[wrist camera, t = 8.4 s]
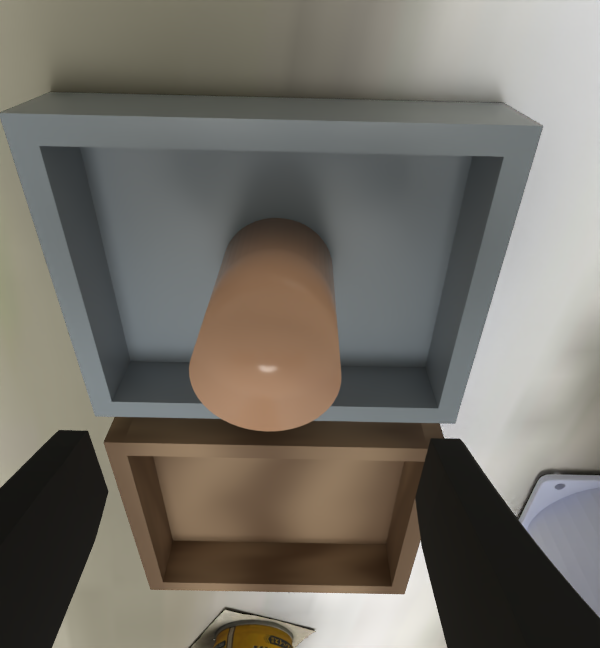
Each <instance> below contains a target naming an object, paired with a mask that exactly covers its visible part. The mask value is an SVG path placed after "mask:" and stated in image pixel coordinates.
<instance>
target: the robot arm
mask: <svg viewBox="0 0 600 648" xmlns="http://www.w3.org/2000/svg"><path fill="white" fill-rule="evenodd" d="M107 495H108V489H107V486H106V483H105V480H104V477H103V474H102V471H101V468H100V465H99V462H98V459H97V456H96V453H95V450H94V447H93V444H92V442H91V439H90V436H89V433H88V431H72V430H59V431H58V432H56V433H55V434H54V435H53V436H52V437H51V438H50V439H49V440H48V441H47V442H46V443H45V444H44V445H43V446H42V447H41V448H40V449H39V450H38V451H37V452H36V453H35V454H34V455H33V456H32V457H31V458H30V459H29V460H28V461H27V462H26V463H25V464H24V465H23V466H22V467H21V468H20V469H19V470H18V471H17V472H16V473H15V474H14V475H13V476H12V477H11V478H10V479H9V480H8V481H7V482H6V483H5V484H4V485H3V486H2V487H1V488H0V648H52V646H53V643H54V641H55V638H56V636H57V634H58V631H59V629H60V626H61V624H62V621H63V619H64V616H65V614H66V611H67V609H68V606H69V604H70V602H71V599H72V597H73V594H74V592H75V589H76V587H77V584H78V582H79V579H80V577H81V574H82V572H83V569H84V567H85V564H86V562H87V559H88V557H89V554H90V552H91V549H92V547H93V544H94V541H95V539H96V535H97V532H98V528H99V525H100V521H101V518H102V514H103V510H104V506H105V502H106V498H107ZM415 501H416V509H417V516H418V524H419V531H420V537H421V544H422V549H423V553H424V557H425V561H426V565H427V569H428V573H429V577H430V581H431V585H432V589H433V593H434V597H435V601H436V605H437V609H438V613H439V617H440V621H441V625H442V628H443V632H444V636H445V640H446V644H447V648H600V475H559V474H548V475H544V476H542V477H540V479H539V480H538V482H537V484H536V486H535V488H534V490H533V492H532V494H531V496H530V498H529V500H528V502H527V504H526V506H525V508H524V510H523V512H522V514H521V517H520V519H519V520H518V519H517V517H516V516H515V515H514V514H513V512H512V511H511V509H510V508H509V507H508V505H507V504H506V503H505V501H504V500H503V499H502V497H501V496H500V494H499V493H498V492H497V490H496V489H495V488H494V486H493V485H492V483H491V482H490V481H489V479H488V478H487V476H486V475H485V473H484V472H483V471H482V469H481V468H480V466H479V465H478V463H477V462H476V460H475V459H474V457H473V456H472V455H471V453H470V452H469V450H468V449H467V447H466V446H465V444H464V443H463V442H462V441H461V440H460V439H445V438H431V439H430V443H429V447H428V450H427V454H426V458H425V462H424V466H423V469H422V473H421V477H420V481H419V485H418V489H417V492H416V496H415Z"/></svg>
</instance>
